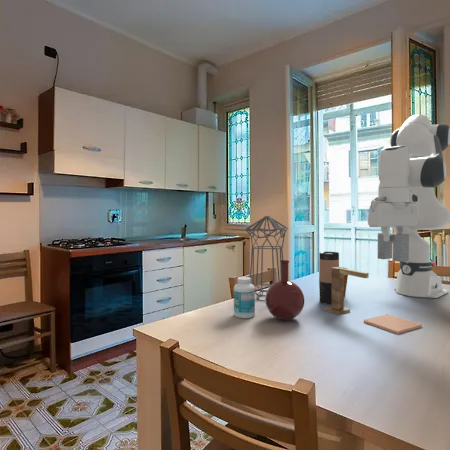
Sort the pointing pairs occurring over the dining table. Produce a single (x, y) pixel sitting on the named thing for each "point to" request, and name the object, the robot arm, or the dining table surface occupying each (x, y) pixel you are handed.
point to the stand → (341, 288)
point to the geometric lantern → (275, 225)
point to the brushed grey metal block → (399, 247)
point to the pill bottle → (244, 298)
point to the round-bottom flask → (284, 296)
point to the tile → (392, 323)
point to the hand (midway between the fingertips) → (393, 240)
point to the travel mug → (327, 275)
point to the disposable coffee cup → (345, 281)
